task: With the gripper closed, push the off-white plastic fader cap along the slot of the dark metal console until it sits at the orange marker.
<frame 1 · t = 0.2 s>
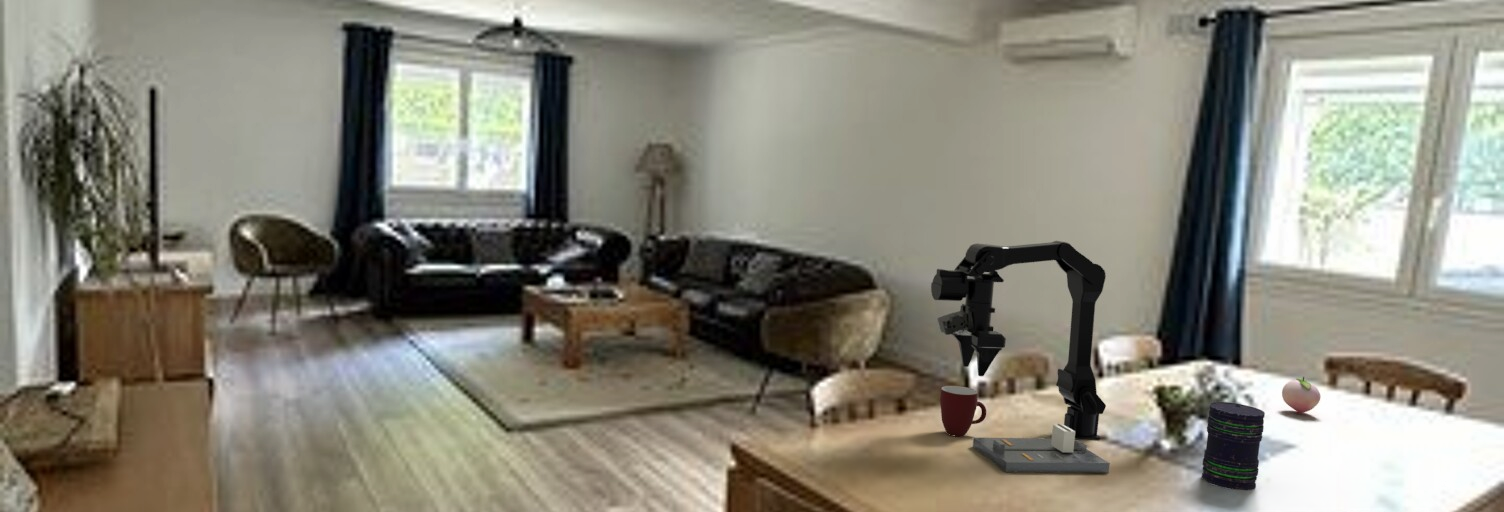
hand: (973, 371, 202), 14 cm above the table, fingers open, 9 cm apart
fader: (1063, 437, 189), point 5 cm above the table, slide at -5.0 cm
storage jar: (1228, 482, 182), on the table
console: (1038, 459, 189), on the table
decorative fruit: (1297, 414, 243), on the table
mug: (960, 434, 204), on the table
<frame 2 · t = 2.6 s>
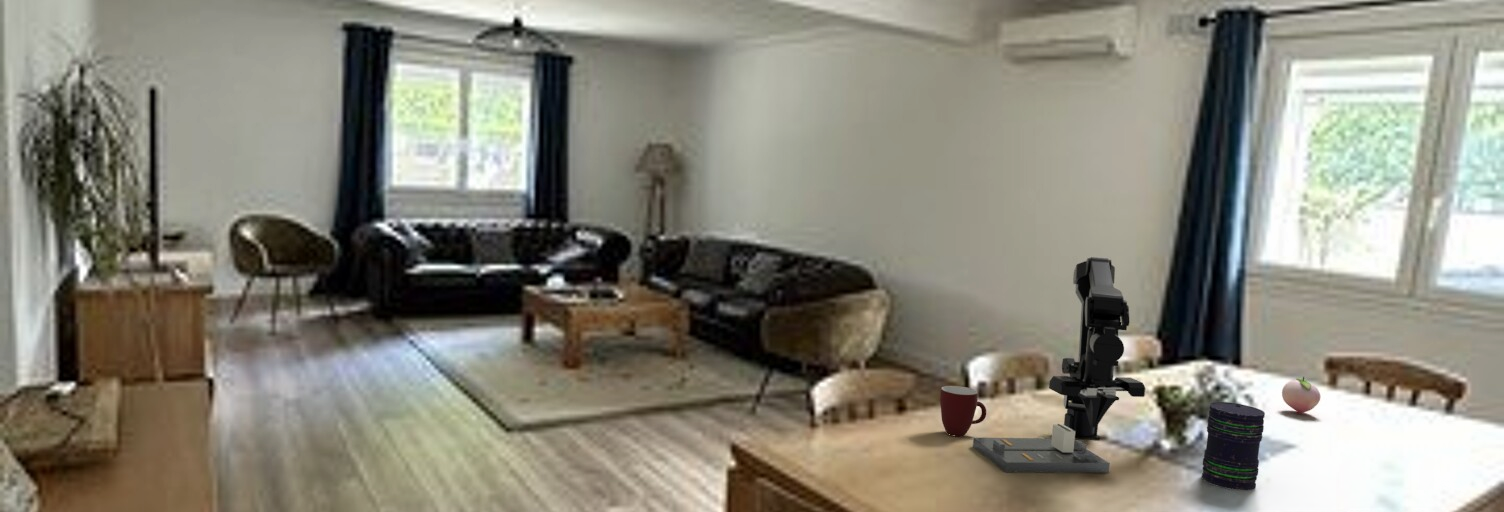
hand: (1093, 426, 190), 7 cm above the table, fingers closed
nothing on the table moved.
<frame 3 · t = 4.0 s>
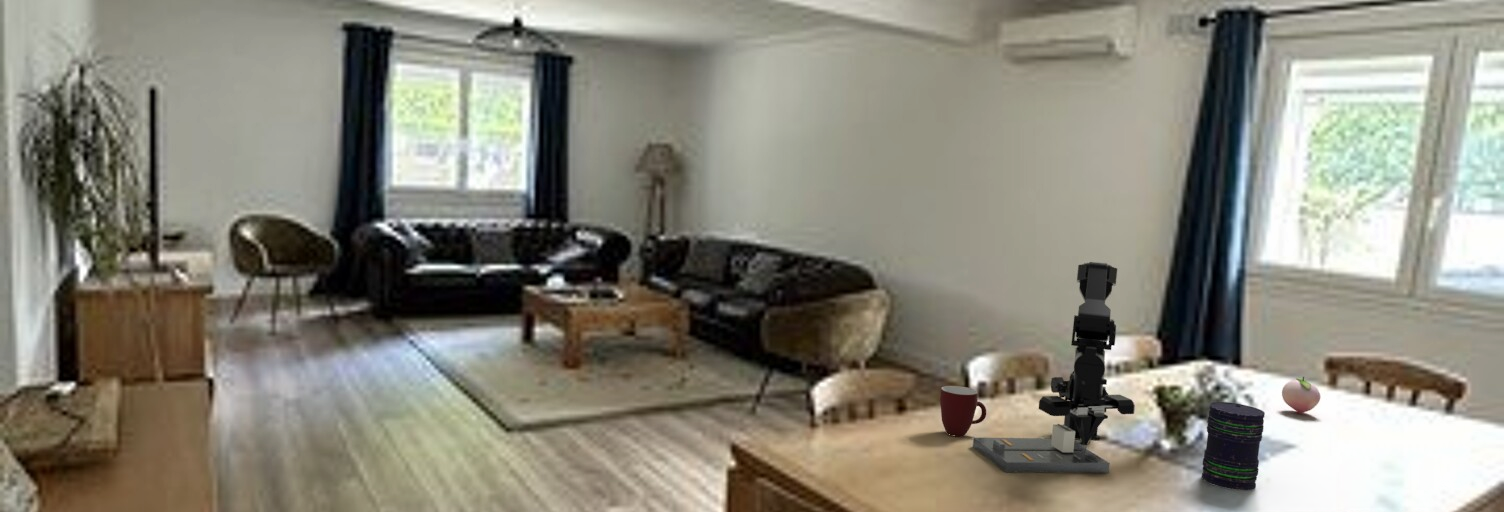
hand: (1084, 445, 190), 3 cm above the table, fingers closed, pressing on console
nothing on the table moved.
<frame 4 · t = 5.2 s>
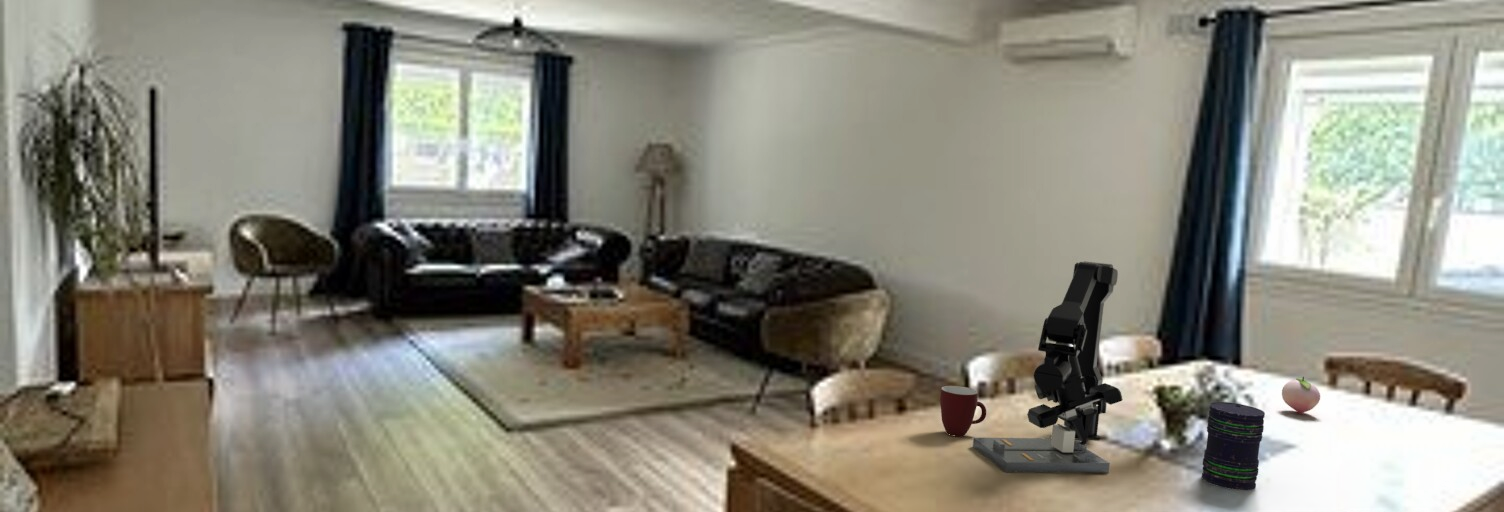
hand: (1083, 443, 190), 3 cm above the table, fingers closed, pressing on console
fader: (1063, 437, 189), point 5 cm above the table, slide at -5.0 cm, touching gripper
everything else where it was.
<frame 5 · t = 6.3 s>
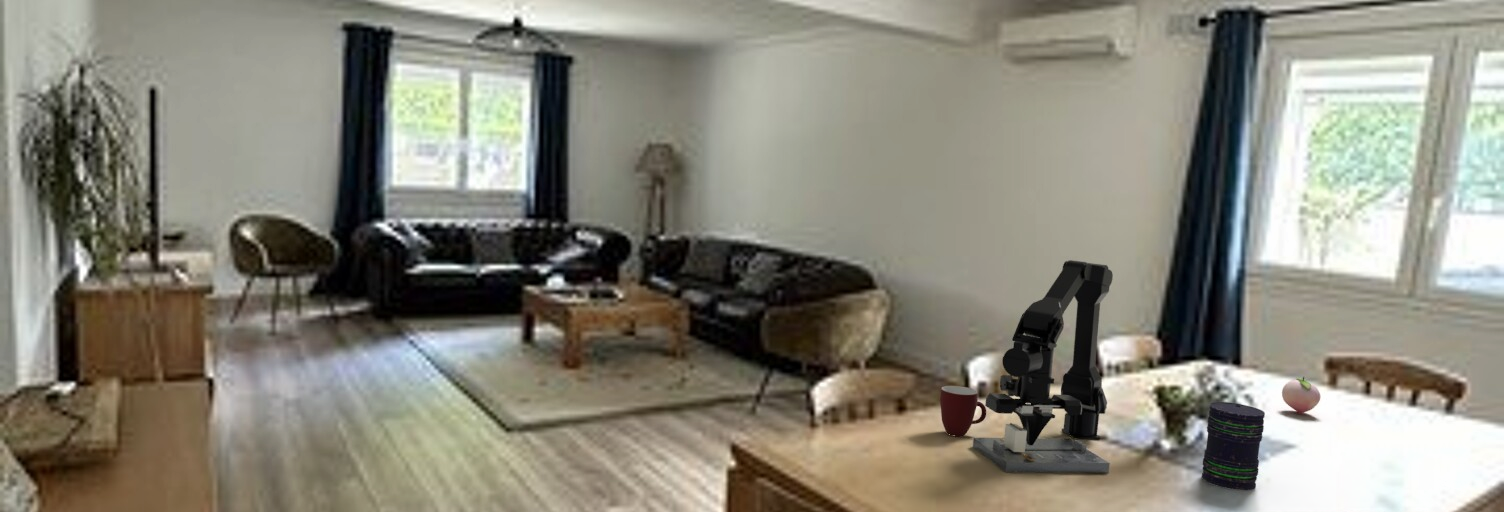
hand: (1029, 444, 188), 3 cm above the table, fingers closed
fader: (1015, 437, 187), point 5 cm above the table, slide at 5.6 cm, touching gripper
everything else where it was.
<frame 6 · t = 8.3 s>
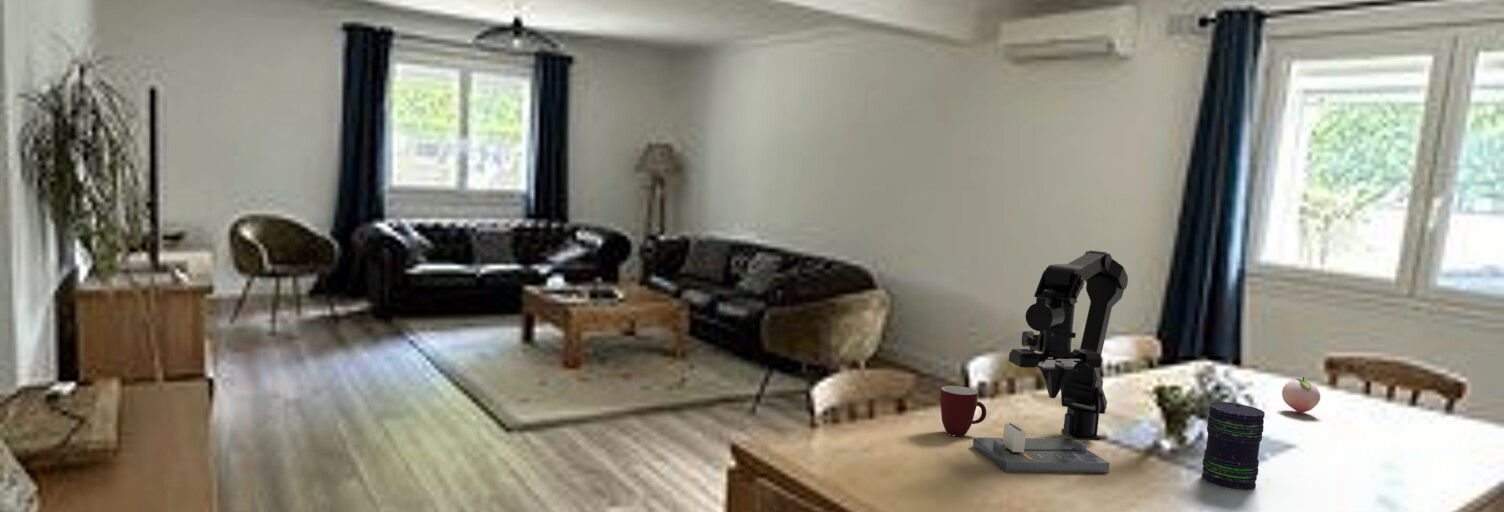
hand: (1052, 397, 194), 12 cm above the table, fingers closed
fader: (1014, 437, 187), point 5 cm above the table, slide at 5.8 cm
everything else where it was.
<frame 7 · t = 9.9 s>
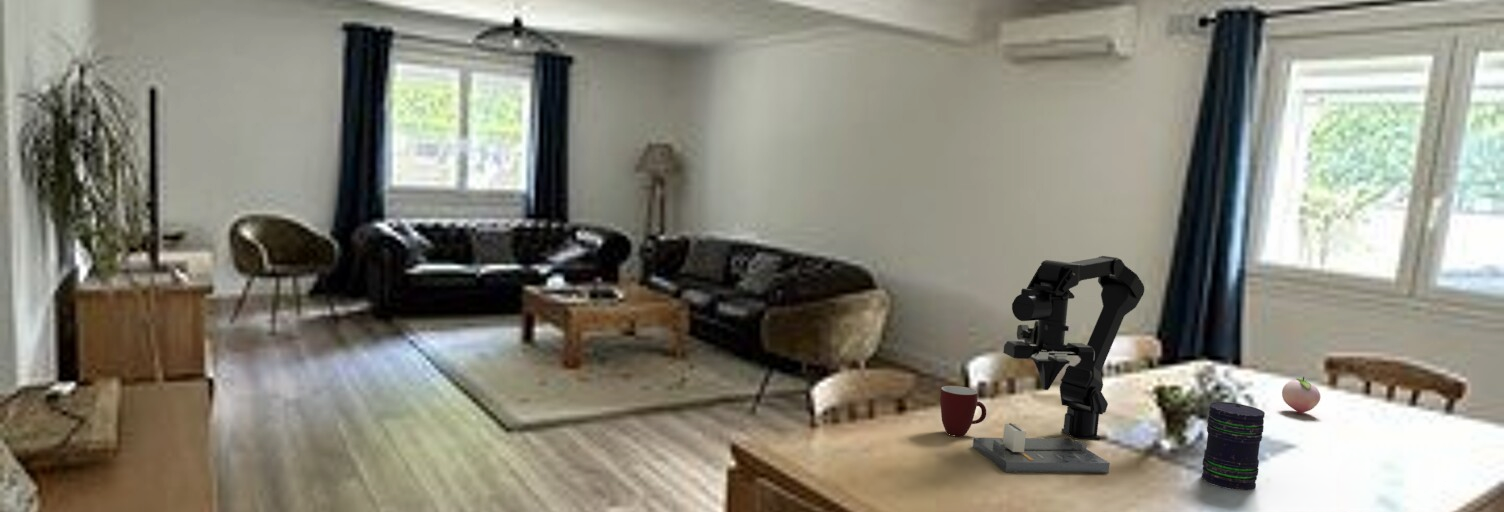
hand: (1045, 389, 199), 12 cm above the table, fingers closed
nothing on the table moved.
at the end: fader slide at 5.8 cm; the gripper is holding nothing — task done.
